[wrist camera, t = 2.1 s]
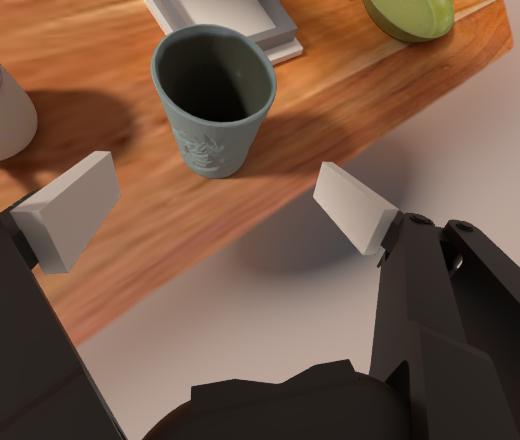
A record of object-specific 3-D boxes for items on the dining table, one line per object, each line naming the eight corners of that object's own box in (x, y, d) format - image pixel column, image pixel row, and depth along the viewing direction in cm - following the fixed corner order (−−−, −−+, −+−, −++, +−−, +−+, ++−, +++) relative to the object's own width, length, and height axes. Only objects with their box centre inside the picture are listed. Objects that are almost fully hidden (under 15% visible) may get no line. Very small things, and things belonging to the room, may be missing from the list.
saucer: (339, 17, 41) (349, -4, 38) (363, -48, 46) (374, -70, 43) (432, 70, 43) (449, 55, 40) (444, 3, 49) (460, -15, 46)
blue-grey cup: (165, 172, 28) (133, 104, 16) (184, 104, 30) (169, 3, 19) (245, 191, 29) (268, 141, 18) (257, 125, 32) (284, 44, 20)
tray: (129, -20, 32) (122, -48, 29) (235, -40, 38) (237, -65, 35) (202, 91, 31) (202, 73, 28) (301, 54, 36) (308, 36, 34)
